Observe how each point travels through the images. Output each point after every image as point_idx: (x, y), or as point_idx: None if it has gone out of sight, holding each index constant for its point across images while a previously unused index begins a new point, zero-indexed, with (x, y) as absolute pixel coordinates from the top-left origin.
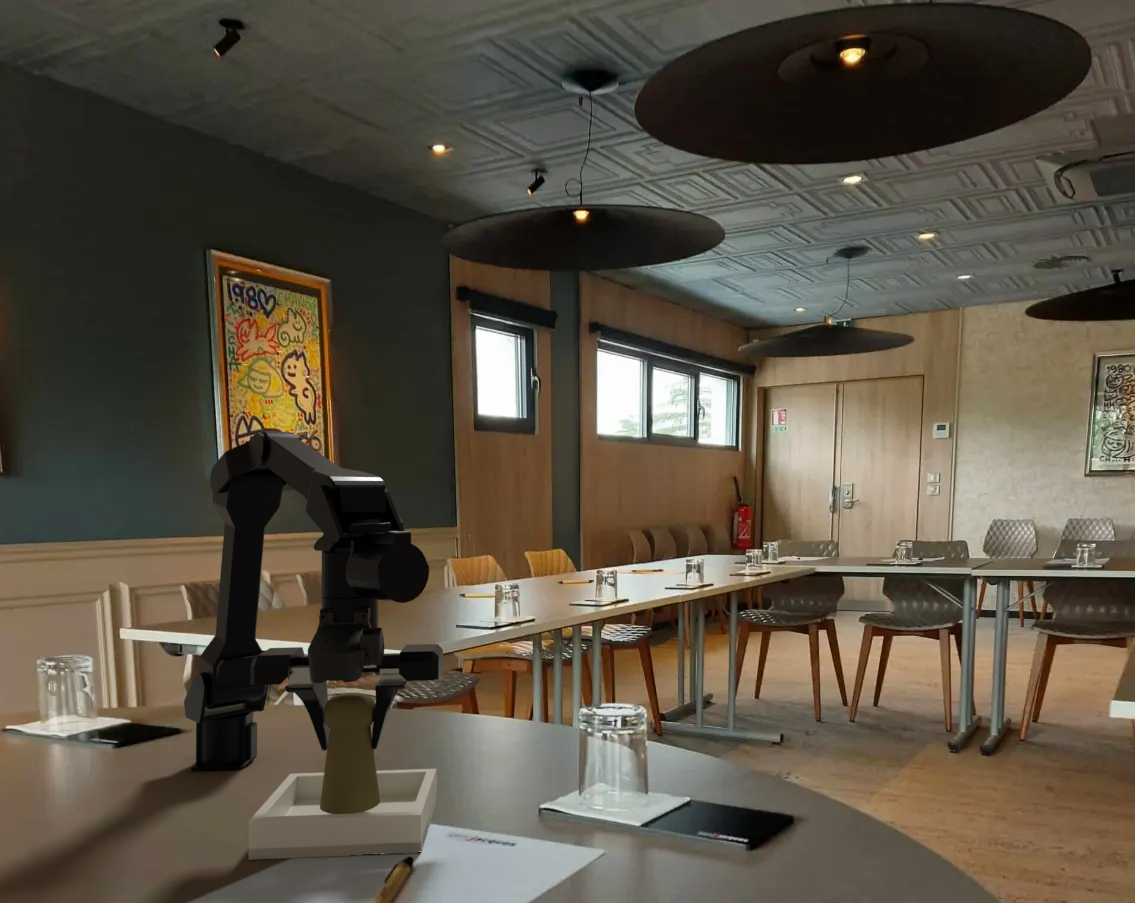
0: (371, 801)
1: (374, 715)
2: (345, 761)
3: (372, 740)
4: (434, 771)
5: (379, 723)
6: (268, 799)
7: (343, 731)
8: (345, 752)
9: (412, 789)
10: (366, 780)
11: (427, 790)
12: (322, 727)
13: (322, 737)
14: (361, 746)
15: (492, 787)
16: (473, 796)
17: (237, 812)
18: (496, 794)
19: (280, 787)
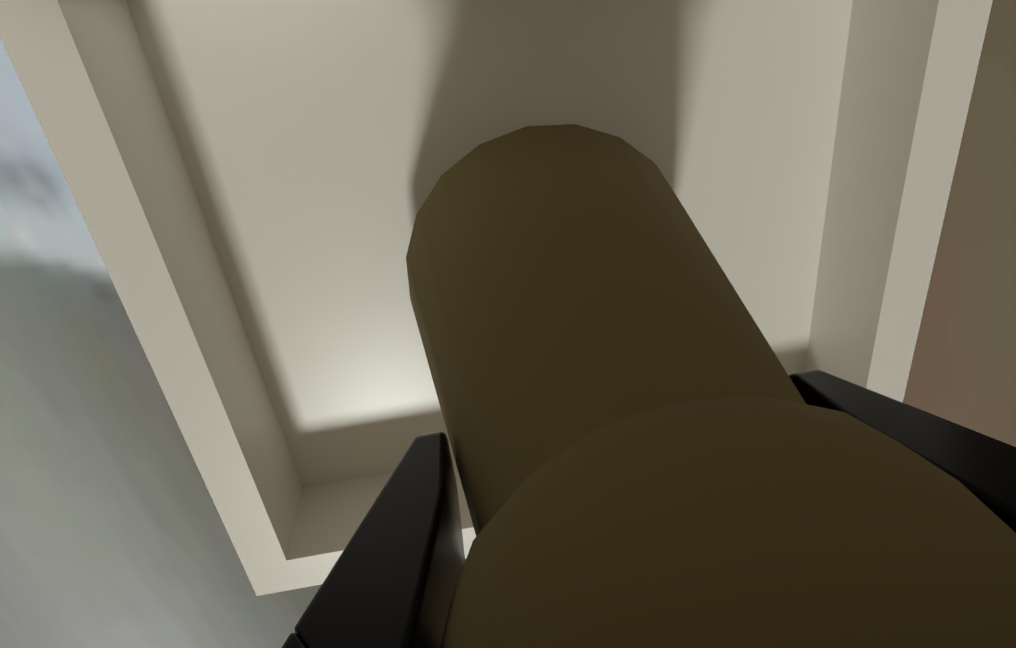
0: (422, 226)
1: (405, 636)
2: (598, 251)
3: (444, 465)
4: (249, 567)
5: (362, 578)
6: (950, 172)
7: (702, 397)
8: (618, 289)
9: (357, 495)
10: (449, 256)
11: (149, 343)
12: (931, 458)
13: (870, 409)
14: (506, 369)
15: (128, 618)
16: (159, 544)
17: (986, 340)
18: (76, 569)
19: (908, 332)
